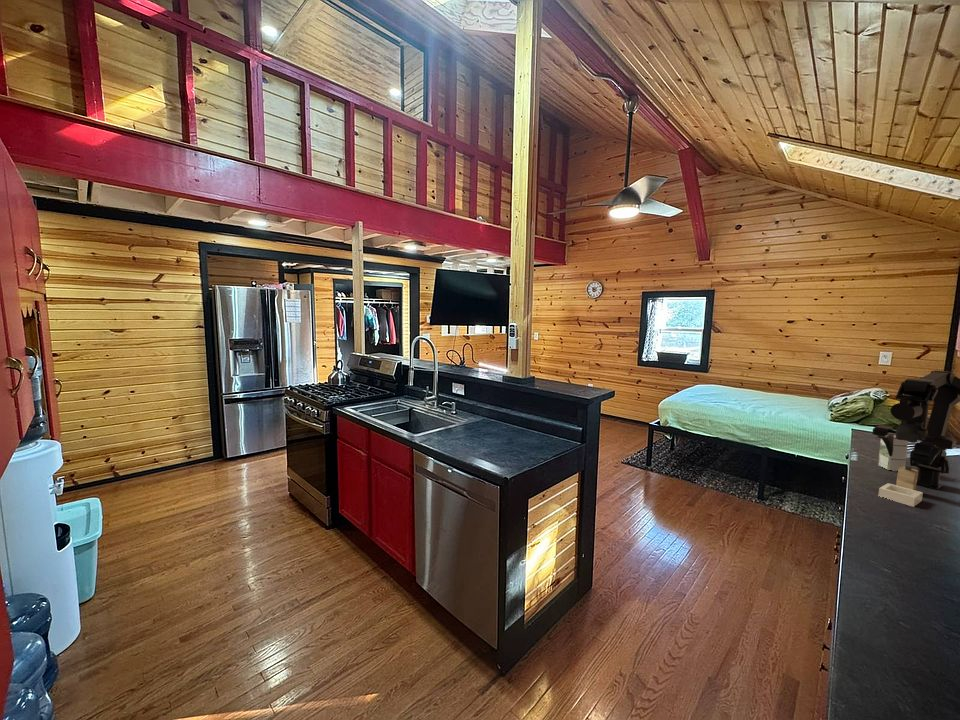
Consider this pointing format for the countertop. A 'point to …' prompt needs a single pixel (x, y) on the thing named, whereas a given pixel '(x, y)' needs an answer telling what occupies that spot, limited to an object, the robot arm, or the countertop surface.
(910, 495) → the cream square ring
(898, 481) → the wooden peg
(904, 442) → the syrup box
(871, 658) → the countertop surface
